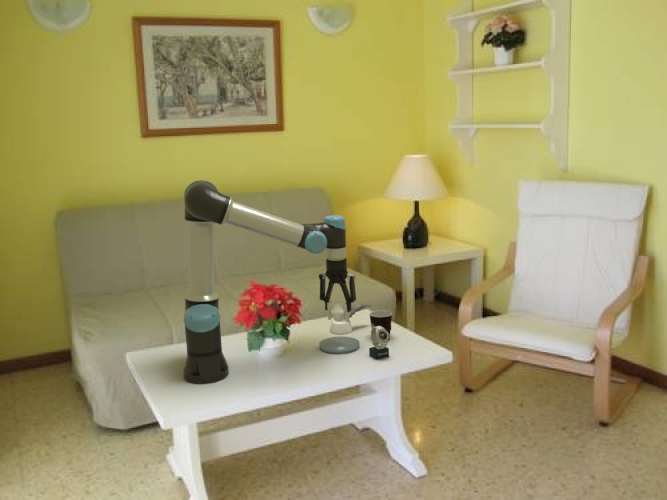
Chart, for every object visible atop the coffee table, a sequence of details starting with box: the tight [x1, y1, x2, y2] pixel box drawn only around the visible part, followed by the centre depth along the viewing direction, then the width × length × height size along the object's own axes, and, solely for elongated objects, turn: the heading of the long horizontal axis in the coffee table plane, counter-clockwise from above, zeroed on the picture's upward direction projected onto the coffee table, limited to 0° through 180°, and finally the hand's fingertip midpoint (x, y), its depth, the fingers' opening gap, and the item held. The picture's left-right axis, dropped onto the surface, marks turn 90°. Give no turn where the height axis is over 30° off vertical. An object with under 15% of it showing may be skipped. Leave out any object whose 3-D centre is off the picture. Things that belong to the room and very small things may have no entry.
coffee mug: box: [369, 309, 393, 340], centre depth 264 cm, size 12×9×10 cm
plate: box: [318, 336, 361, 355], centre depth 259 cm, size 15×15×2 cm
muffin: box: [330, 301, 345, 321], centre depth 256 cm, size 6×6×7 cm
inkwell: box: [329, 303, 372, 335], centre depth 278 cm, size 9×18×10 cm, turn 112°
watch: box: [368, 326, 391, 361], centre depth 247 cm, size 6×8×11 cm
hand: (338, 319), depth 257 cm, fingers closed on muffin, 6 cm apart
